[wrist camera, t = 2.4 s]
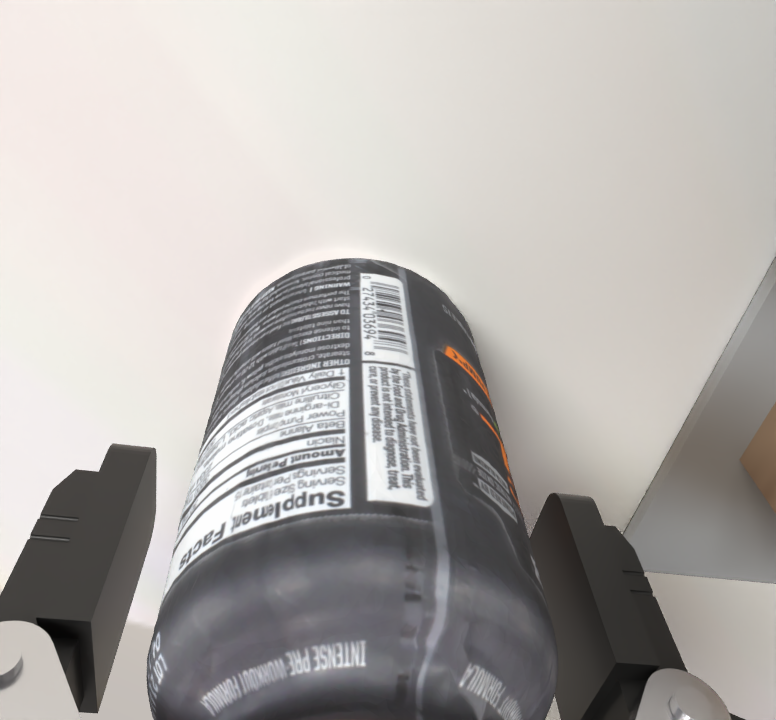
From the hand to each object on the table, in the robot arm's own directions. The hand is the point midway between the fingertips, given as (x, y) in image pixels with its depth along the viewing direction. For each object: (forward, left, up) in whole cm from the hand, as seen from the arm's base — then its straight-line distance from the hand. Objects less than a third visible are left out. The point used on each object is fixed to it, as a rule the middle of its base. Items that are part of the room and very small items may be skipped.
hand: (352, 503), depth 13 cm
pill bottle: (0, 0, -5) cm, 5 cm away
